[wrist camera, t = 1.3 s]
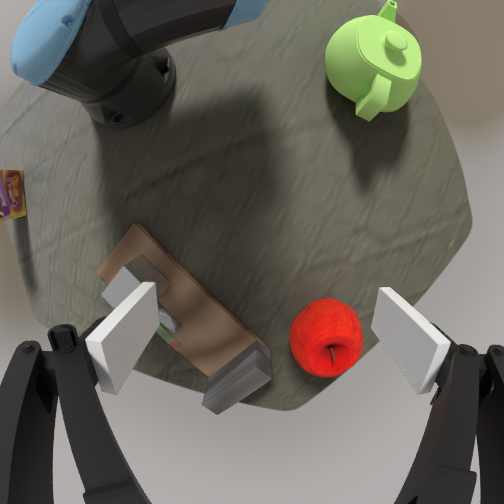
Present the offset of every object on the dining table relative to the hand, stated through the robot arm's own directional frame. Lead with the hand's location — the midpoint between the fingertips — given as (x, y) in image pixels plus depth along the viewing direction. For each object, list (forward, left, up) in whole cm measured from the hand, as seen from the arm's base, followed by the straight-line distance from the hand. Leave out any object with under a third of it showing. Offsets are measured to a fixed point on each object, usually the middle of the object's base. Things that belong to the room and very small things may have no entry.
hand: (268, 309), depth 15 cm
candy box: (-39, -26, -24) cm, 52 cm away
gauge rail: (-1, -17, -24) cm, 29 cm away
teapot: (-8, +29, -24) cm, 38 cm away
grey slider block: (-5, -17, -22) cm, 28 cm away
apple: (+14, -2, -24) cm, 28 cm away
